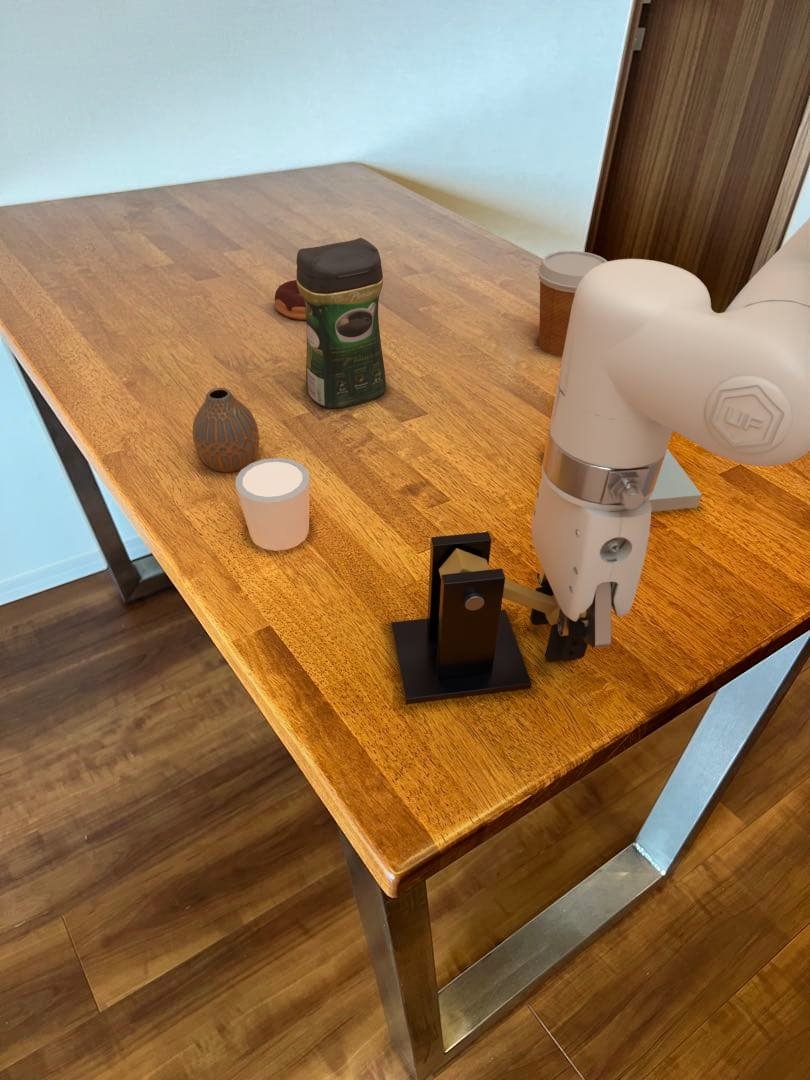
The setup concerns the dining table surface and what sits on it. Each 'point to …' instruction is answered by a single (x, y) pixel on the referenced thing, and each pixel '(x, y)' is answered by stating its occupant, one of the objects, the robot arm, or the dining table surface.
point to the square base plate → (673, 488)
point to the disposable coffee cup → (560, 294)
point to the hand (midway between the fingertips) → (556, 637)
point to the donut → (290, 301)
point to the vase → (225, 432)
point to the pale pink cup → (275, 502)
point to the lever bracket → (459, 632)
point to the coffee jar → (342, 322)
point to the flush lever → (505, 585)
